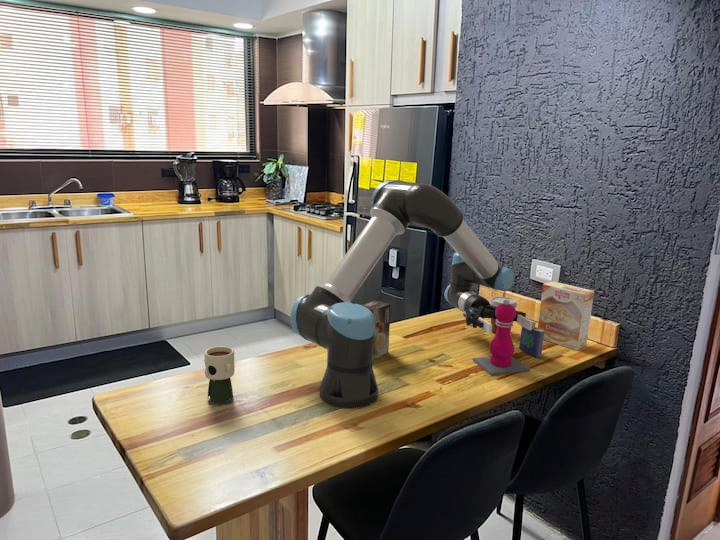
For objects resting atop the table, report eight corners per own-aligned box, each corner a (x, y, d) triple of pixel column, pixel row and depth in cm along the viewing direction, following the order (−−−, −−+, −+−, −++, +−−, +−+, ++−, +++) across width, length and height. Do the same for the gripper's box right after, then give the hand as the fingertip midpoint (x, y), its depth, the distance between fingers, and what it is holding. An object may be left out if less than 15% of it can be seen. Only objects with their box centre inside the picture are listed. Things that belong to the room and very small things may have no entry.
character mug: (197, 395, 139) (195, 347, 136) (223, 388, 143) (222, 341, 140) (217, 412, 131) (216, 361, 128) (244, 404, 135) (243, 354, 132)
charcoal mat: (491, 375, 158) (491, 372, 158) (472, 360, 168) (472, 358, 168) (529, 371, 162) (530, 368, 161) (509, 356, 172) (509, 354, 172)
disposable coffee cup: (507, 339, 187) (511, 305, 184) (481, 332, 193) (485, 300, 190) (518, 332, 195) (521, 300, 192) (493, 326, 200) (496, 294, 197)
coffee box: (372, 347, 175) (374, 299, 171) (388, 352, 172) (391, 303, 168) (354, 355, 168) (356, 305, 164) (371, 361, 164) (374, 310, 161)
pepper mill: (516, 361, 166) (522, 298, 161) (508, 370, 160) (515, 304, 155) (492, 356, 169) (498, 294, 164) (484, 364, 163) (490, 300, 158)
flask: (543, 357, 172) (547, 325, 170) (535, 359, 171) (539, 326, 169) (523, 347, 180) (526, 316, 178) (516, 348, 179) (519, 317, 177)
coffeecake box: (535, 337, 190) (542, 283, 185) (546, 333, 195) (552, 280, 190) (576, 351, 179) (584, 293, 175) (587, 346, 184) (595, 290, 179)
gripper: (506, 314, 183) (546, 336, 163) (439, 319, 175) (471, 342, 156) (508, 292, 181) (549, 312, 162) (440, 296, 174) (474, 317, 154)
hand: (511, 327), depth 159 cm, fingers open, 13 cm apart
